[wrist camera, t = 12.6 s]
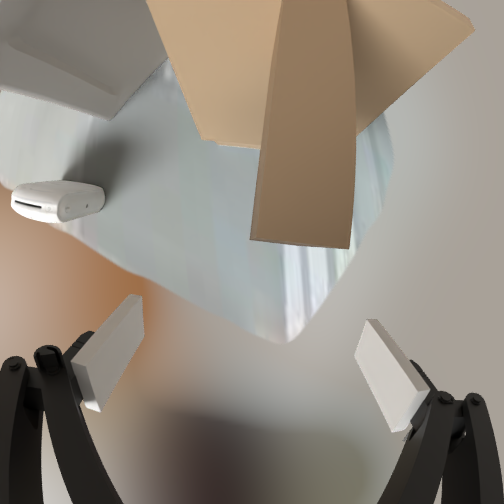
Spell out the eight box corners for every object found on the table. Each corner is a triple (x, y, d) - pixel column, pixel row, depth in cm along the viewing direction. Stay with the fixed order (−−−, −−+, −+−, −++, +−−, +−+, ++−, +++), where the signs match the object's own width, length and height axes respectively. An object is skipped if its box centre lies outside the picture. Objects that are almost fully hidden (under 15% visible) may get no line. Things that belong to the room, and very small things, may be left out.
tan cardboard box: (138, -47, 4) (21, 213, 4) (469, 18, 4) (515, 273, 5) (203, 132, 24) (187, 234, 24) (333, 149, 24) (325, 250, 25)
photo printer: (108, 185, 35) (56, 191, 23) (104, 214, 36) (53, 230, 24) (58, 177, 34) (5, 182, 22) (55, 203, 35) (3, 216, 23)
